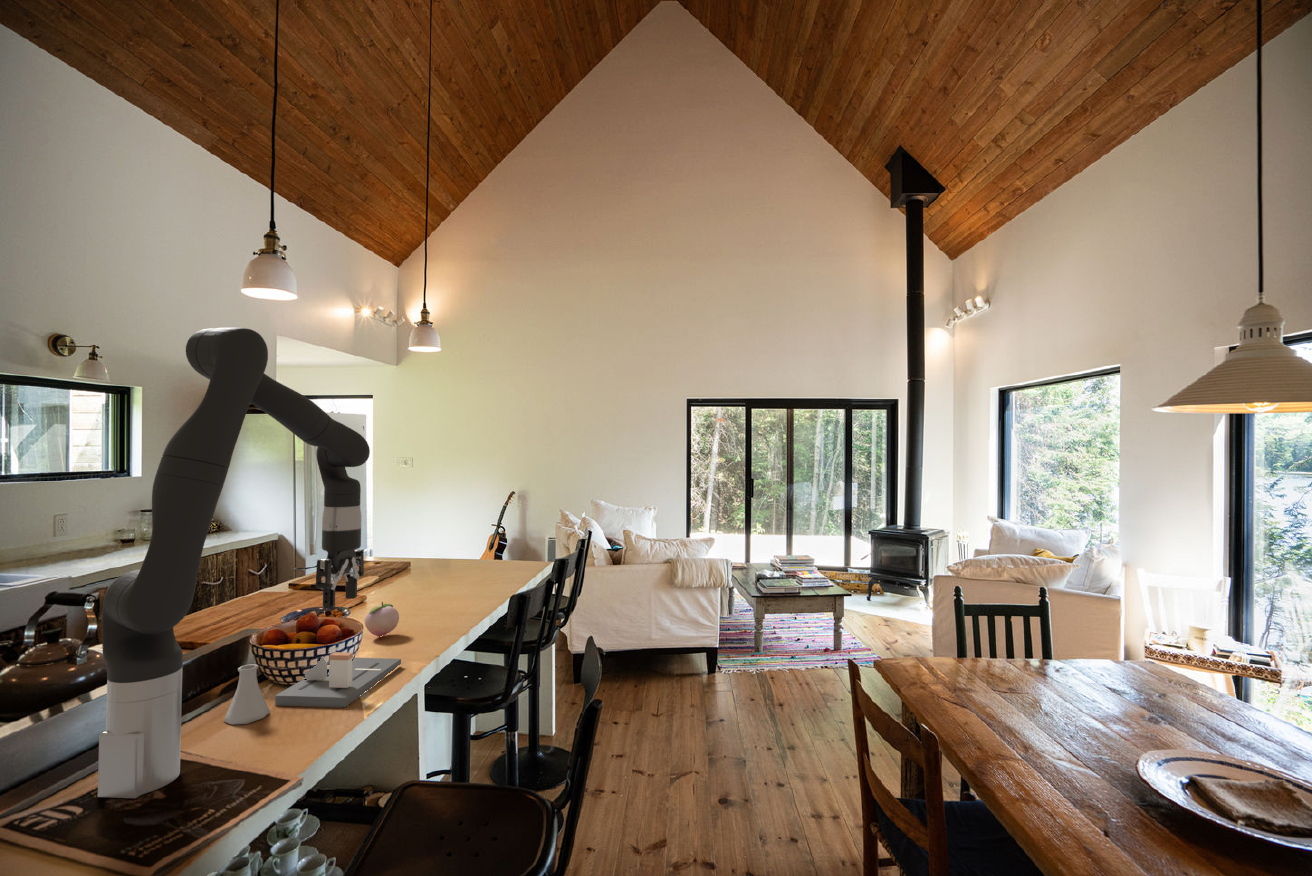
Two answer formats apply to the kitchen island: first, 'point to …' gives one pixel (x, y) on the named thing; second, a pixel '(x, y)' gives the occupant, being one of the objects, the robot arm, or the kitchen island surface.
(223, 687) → the kitchen island surface
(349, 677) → the fader
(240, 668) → the flask
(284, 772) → the kitchen island surface
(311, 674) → the fader
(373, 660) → the gray slotted board
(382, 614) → the decorative fruit
